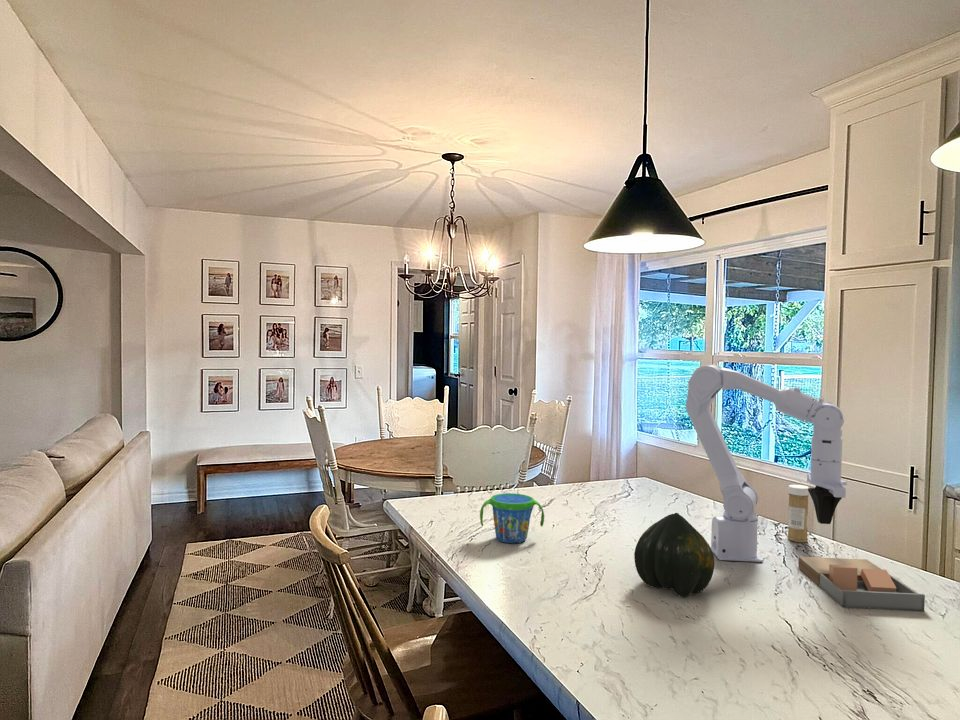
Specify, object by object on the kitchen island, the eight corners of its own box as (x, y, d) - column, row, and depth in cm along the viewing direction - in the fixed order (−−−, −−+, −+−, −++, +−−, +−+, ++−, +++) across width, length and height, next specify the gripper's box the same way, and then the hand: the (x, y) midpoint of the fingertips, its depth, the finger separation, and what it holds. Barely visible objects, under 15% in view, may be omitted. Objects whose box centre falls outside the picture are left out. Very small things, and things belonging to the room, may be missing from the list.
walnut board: (818, 585, 127) (818, 573, 126) (798, 567, 136) (798, 556, 136) (892, 588, 125) (892, 576, 125) (866, 570, 135) (867, 559, 135)
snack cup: (543, 534, 158) (543, 493, 158) (544, 547, 148) (545, 504, 147) (480, 532, 159) (481, 492, 159) (478, 545, 149) (478, 502, 148)
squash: (662, 581, 113) (702, 512, 118) (609, 559, 126) (646, 497, 131) (705, 623, 118) (742, 555, 123) (649, 597, 131) (684, 536, 136)
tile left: (828, 586, 125) (832, 590, 123) (829, 564, 125) (833, 567, 123) (852, 588, 124) (856, 591, 123) (853, 565, 124) (857, 568, 123)
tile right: (869, 592, 122) (871, 586, 121) (860, 574, 126) (862, 568, 125) (894, 594, 122) (896, 588, 121) (884, 575, 125) (886, 569, 125)
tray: (843, 607, 116) (843, 591, 116) (819, 586, 126) (819, 571, 126) (924, 611, 115) (924, 594, 115) (893, 589, 125) (894, 574, 125)
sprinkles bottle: (811, 541, 155) (813, 486, 155) (801, 544, 152) (802, 488, 152) (793, 536, 159) (794, 483, 158) (783, 539, 156) (784, 485, 156)
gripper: (862, 467, 127) (860, 534, 127) (831, 454, 141) (829, 514, 142) (825, 465, 128) (823, 532, 128) (798, 453, 142) (796, 513, 143)
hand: (824, 523), depth 135 cm, fingers closed
